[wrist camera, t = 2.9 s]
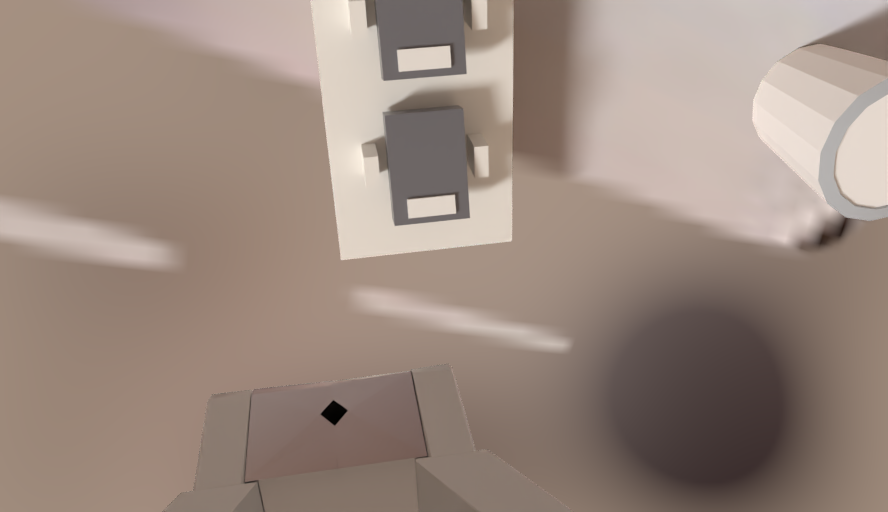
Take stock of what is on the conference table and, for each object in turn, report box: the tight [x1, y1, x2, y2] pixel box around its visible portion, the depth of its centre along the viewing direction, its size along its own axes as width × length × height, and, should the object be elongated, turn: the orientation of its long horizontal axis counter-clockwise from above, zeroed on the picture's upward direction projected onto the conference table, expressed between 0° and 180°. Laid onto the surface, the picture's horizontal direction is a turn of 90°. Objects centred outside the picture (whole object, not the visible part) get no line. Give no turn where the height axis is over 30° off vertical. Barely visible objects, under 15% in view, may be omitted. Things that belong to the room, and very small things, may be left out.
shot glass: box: [752, 44, 888, 221], centre depth 37 cm, size 7×7×7 cm
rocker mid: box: [374, 0, 467, 81], centre depth 30 cm, size 3×5×1 cm
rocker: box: [382, 105, 470, 226], centre depth 33 cm, size 3×5×1 cm
